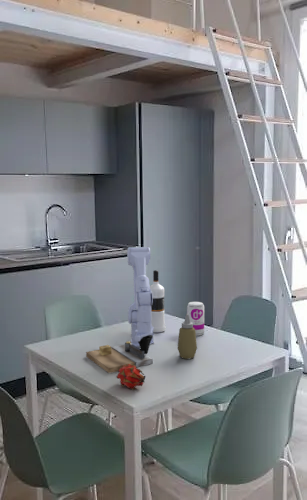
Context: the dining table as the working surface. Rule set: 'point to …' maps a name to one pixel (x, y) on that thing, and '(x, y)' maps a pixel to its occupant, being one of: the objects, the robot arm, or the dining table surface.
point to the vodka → (157, 305)
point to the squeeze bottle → (187, 339)
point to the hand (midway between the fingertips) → (144, 353)
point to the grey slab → (116, 358)
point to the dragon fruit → (130, 376)
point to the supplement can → (196, 316)
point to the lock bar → (134, 349)
